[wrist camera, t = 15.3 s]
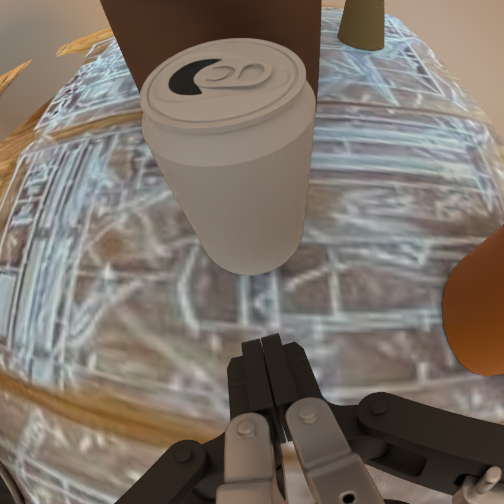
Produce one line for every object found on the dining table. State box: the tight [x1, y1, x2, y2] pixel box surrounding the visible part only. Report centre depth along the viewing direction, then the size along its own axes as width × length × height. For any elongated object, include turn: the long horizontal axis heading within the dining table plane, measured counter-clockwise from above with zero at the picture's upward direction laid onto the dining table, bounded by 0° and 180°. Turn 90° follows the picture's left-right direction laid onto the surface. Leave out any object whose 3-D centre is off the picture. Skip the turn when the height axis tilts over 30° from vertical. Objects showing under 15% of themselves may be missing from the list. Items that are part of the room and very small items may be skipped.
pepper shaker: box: [338, 0, 384, 50], centre depth 24 cm, size 6×6×11 cm
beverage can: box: [140, 38, 316, 275], centre depth 14 cm, size 6×6×12 cm
